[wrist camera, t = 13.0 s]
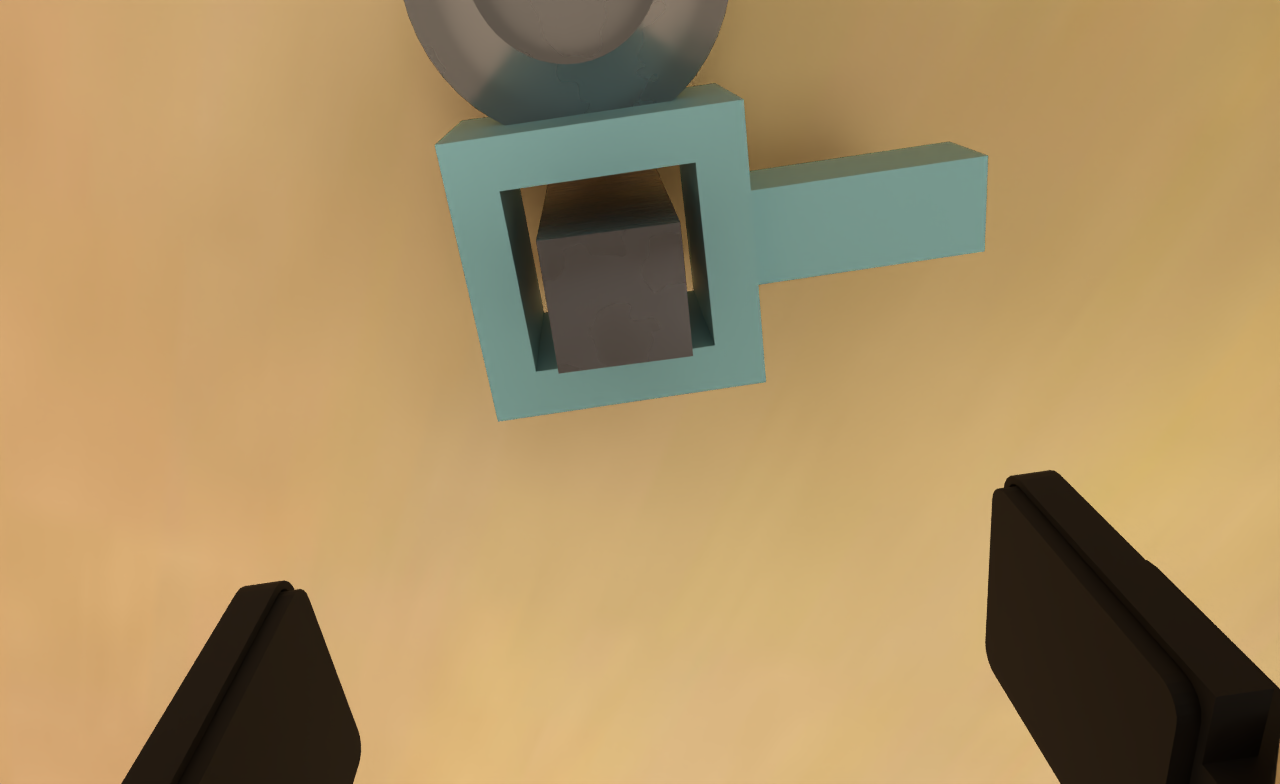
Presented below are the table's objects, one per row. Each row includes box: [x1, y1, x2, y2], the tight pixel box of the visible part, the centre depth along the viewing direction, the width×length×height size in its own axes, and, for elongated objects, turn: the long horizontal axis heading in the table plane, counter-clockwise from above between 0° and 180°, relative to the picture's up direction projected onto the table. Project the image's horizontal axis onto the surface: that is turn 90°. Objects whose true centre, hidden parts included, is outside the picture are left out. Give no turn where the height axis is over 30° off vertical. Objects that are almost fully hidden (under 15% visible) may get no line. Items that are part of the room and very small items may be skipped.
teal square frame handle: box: [435, 83, 988, 421], centre depth 30 cm, size 17×9×6 cm, turn 98°
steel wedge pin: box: [536, 168, 693, 374], centre depth 32 cm, size 4×4×18 cm
